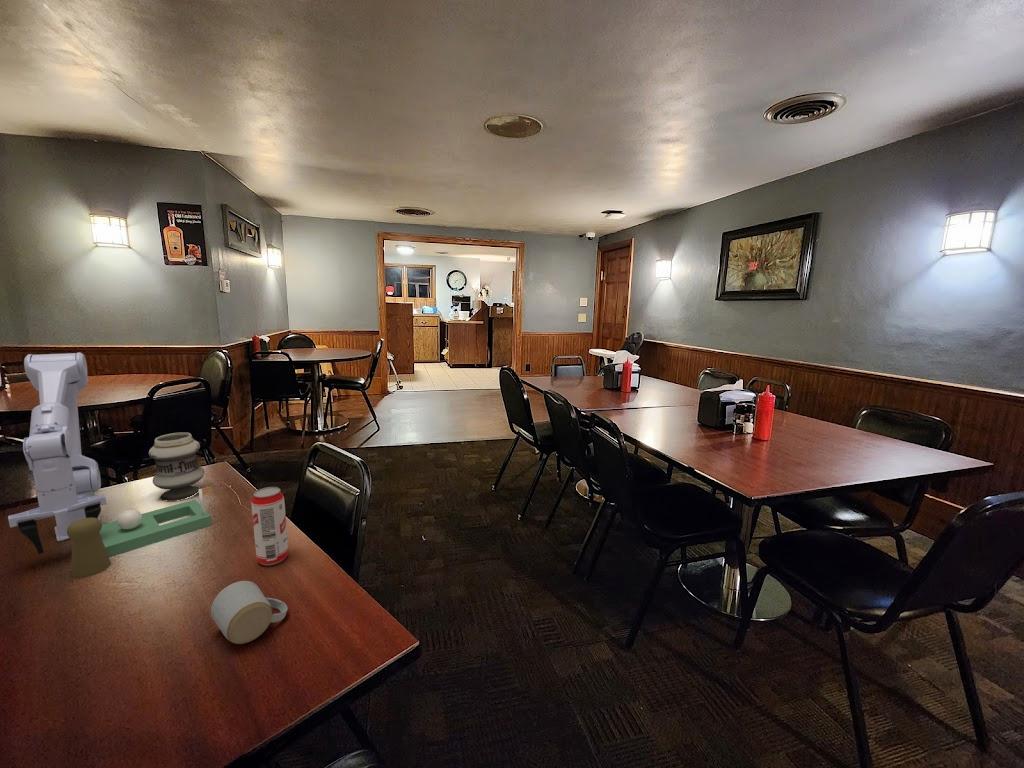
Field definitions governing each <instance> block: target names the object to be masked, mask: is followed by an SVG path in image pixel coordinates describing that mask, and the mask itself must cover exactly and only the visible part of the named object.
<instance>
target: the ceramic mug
mask: <svg viewBox="0 0 1024 768" xmlns="http://www.w3.org/2000/svg"><path fill="white" fill-rule="evenodd" d="M261 590H262V589H260V588H259V586H258V585H257V584H256V583H254V582H253V581H251V580H239V581H236V582H233V583H230V584H228V585H227V586H226V587H224V588H222V590H221V591H219V593H218V594H217V595H215V598H214V599H213V601H212V604H211V607H210V614H211V618H212V620H213V621H214V623H215V624H216V625H217V627H218V628H219V631H221V633H222V634H223V636H224V637H225V639H227V640H228V641H229V642H230V643H233V644H235V645H243V644H248V643H250V642H252V641H254V640H256V639H257V638H259V637H260V636H261V635H263V633H264V632H265V631H266V630H267V629H268V627H269V626H270V624H271V623H272V624H273V623H278V622H281V621H282V620H283V619H284V618H285V617H286V615H287V612H288V610H289V609H288V608H289V607H288V605H287V604H286V602H284V601H282V600H280V599H277V598H272V597H266V596H265V595H264V594H263V592H262V591H261ZM272 608H273V609H277V610H279V612H278V613H273V609H272Z"/></svg>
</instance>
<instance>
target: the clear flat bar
mask: <svg viewBox="0 0 1024 768" xmlns="http://www.w3.org/2000/svg"><path fill="white" fill-rule="evenodd" d="M198 490H199V494H198V496H199V504H200V506H201V515H202V516H203V515H205V511H204V509H205V504H204V497H203V496H204V495H207V494H210V493H213V488H212V486H207V487H203V488H201V489H198Z"/></svg>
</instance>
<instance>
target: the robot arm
mask: <svg viewBox="0 0 1024 768" xmlns="http://www.w3.org/2000/svg"><path fill="white" fill-rule="evenodd" d="M23 366H24V367H23V368H24V371H25V376H26V377H27V378H28V379H29V382H30V383H31V385H32V387H34V389H35V391H38V395H39V397H38V398H39V405H37V406H35V407H34V408H32V409H31V416H30V425H29V426H30V427H29V435H28V436H29V437H28V436H27V437H24V438H23V440H22V451H23V454H24V457H25V460H26V462H27V464H28V465H27V466H28V469H29V471H31V472H32V476H33V480H34V485H35V491H36V496H37V502H38V507H36V508H32V509H29V510H26V511H23V512H22V511H21V512H19V513H18V512H17V513H14V514H11V515H8V516H7V519H8V524H9V528H14V527H18V530H19V532H20V533H21V534H22V535H24V536H25V537H26V538H27V539H28V540H29V541H30V542H31V544H32V545H33V546H34V547H35V549H36V550H37V554H38V555H42V554H44V548H43V543H42V540H41V537H40V534H39V529H38V523H37V520H38V521H39V520H43V519H46V518H51V517H55V518H54V519H55V522H56V523H55V524H56V526H54V533H55V535H56V536H55V537H56V541H57V542H63V541H65V540H71V539H70V538H69V537H68V535H67V528H68V527H69V525H70V524H72V523H73V522H75V521H78V520H81V519H85V518H98V519H99V520H100V521H101V517H100V515H101V511H102V508H101V506H104V505H107V497H106V494H105V493H103V494H98V495H95V492H99V490H100V489H101V486H102V481H101V480H102V479H101V471H100V469H99V464H98V462H97V461H96V460H95V459H93V458H90V457H88V456H85V455H82V446H81V445H82V443H81V432H80V431H81V430H80V419H79V408H78V396H79V392H80V390H83V389H86V388H87V387H88V383H89V378H88V365H87V359H86V356H85V354H84V353H82V352H81V351H79V352H76V353H75V352H73V353H72V352H71V353H49V354H48V353H47V354H32V353H29V354H27V355H26V356H25V357H24V361H23ZM101 522H102V521H101Z"/></svg>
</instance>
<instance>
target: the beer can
mask: <svg viewBox="0 0 1024 768" xmlns="http://www.w3.org/2000/svg"><path fill="white" fill-rule="evenodd" d="M281 490H282V489H281V488H279V487H278V486H269V487H267V486H266V487H263V488H259V489H257V490H255V491H254V493H252V494H253V497H252V499H251V504H250V505H251V514H252V525H253V535H254V544H255V555H256V556H255V557H256V562H257V563H258V564H260V565H262V566H268V567H269V566H275V565H277V564H279V563H281V562H283V561H284V560H285V559H286V558H287V556H288V555H289V552H290V551H289V540H288V539H289V538H288V528H287V518H286V516H287V515H286V514H287V513H286V505H285V496H284V493H282V492H281Z"/></svg>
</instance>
